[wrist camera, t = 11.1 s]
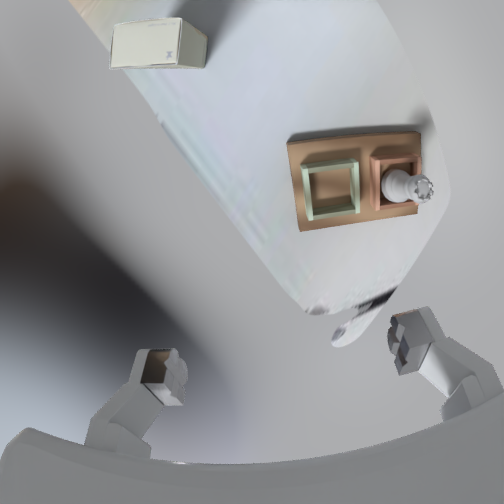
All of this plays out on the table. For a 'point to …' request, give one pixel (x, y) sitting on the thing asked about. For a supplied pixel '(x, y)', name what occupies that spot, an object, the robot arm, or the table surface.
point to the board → (350, 177)
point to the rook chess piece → (406, 187)
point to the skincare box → (157, 45)
